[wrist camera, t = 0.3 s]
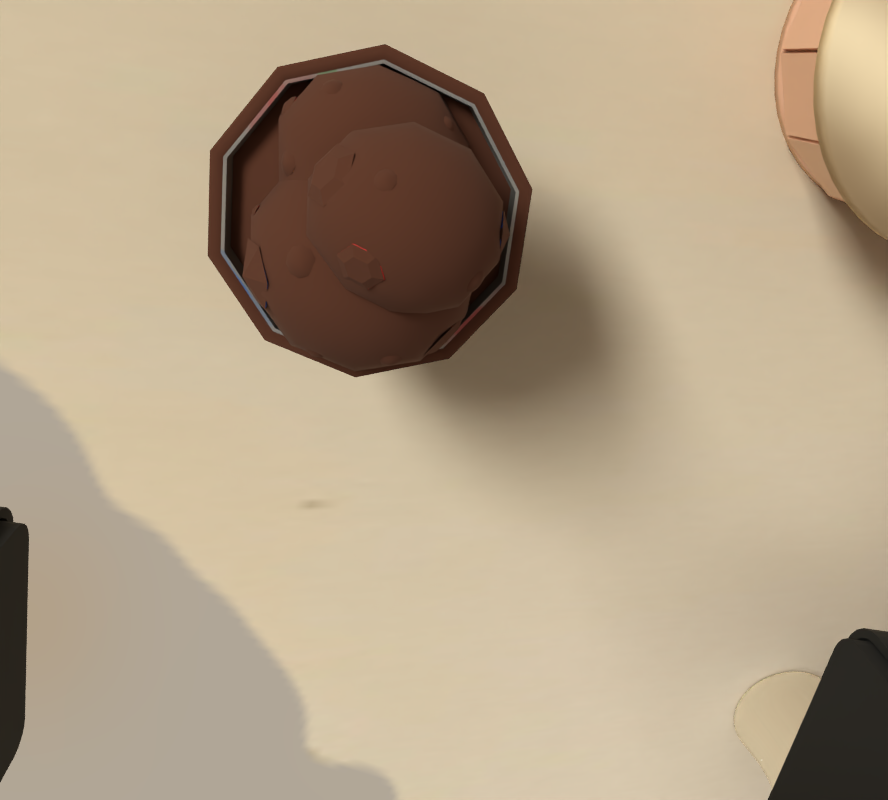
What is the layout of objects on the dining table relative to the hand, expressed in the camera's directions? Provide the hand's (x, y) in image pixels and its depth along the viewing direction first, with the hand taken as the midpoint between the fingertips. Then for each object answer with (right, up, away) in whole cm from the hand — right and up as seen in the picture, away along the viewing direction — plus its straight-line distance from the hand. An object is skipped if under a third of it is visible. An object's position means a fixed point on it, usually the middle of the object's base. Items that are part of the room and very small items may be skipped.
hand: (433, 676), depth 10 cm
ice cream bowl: (-3, +13, +28) cm, 31 cm away
